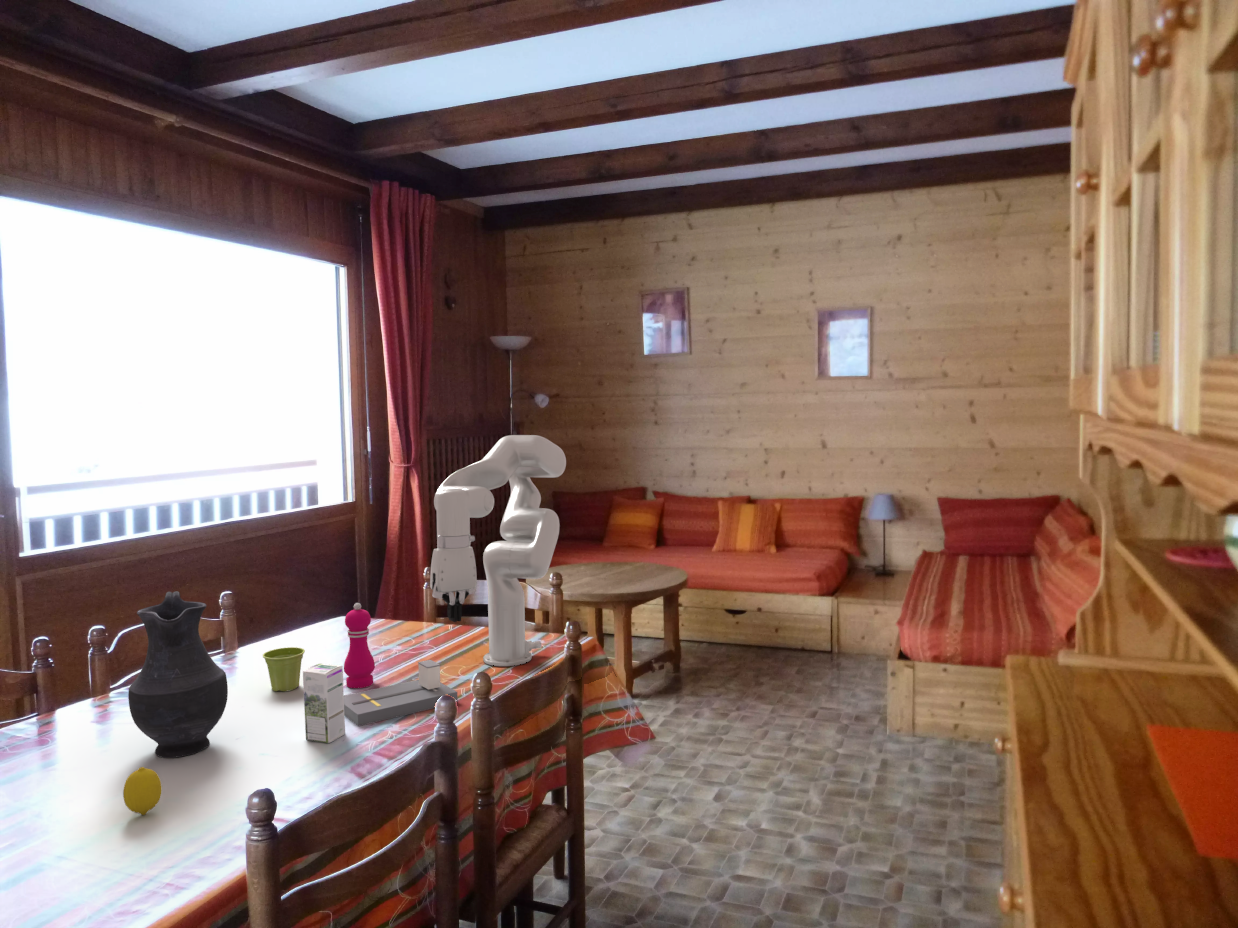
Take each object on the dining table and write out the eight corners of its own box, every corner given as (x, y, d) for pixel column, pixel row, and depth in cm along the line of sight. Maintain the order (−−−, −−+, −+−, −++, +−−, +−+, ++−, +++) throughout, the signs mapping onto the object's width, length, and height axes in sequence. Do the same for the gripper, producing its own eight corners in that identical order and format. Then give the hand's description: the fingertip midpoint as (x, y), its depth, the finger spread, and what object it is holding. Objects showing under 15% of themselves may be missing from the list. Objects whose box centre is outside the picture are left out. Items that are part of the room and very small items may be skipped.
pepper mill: (379, 680, 213) (377, 599, 212) (368, 689, 206) (366, 606, 205) (351, 679, 214) (348, 599, 213) (339, 688, 207) (336, 606, 206)
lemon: (134, 807, 146) (131, 761, 145) (168, 806, 146) (166, 759, 146) (118, 823, 140) (115, 775, 140) (153, 821, 141) (151, 773, 140)
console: (430, 687, 207) (430, 676, 207) (457, 702, 196) (457, 691, 196) (335, 708, 193) (334, 696, 193) (358, 725, 182) (357, 713, 182)
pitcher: (129, 773, 160) (121, 612, 158) (133, 736, 178) (126, 591, 176) (232, 754, 168) (226, 601, 166) (226, 721, 186) (220, 583, 184)
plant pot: (272, 697, 202) (271, 660, 201) (258, 687, 209) (257, 652, 208) (312, 688, 208) (310, 652, 207) (297, 679, 215) (295, 644, 214)
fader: (431, 681, 202) (430, 659, 202) (440, 686, 198) (440, 664, 198) (418, 684, 200) (418, 661, 200) (428, 689, 196) (427, 667, 196)
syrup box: (346, 733, 178) (344, 664, 177) (328, 744, 172) (325, 672, 171) (323, 730, 180) (320, 661, 179) (304, 741, 174) (301, 670, 173)
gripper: (474, 537, 209) (476, 613, 210) (416, 543, 200) (418, 622, 201) (490, 541, 203) (491, 618, 204) (430, 547, 194) (432, 628, 195)
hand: (454, 620), depth 202 cm, fingers closed
